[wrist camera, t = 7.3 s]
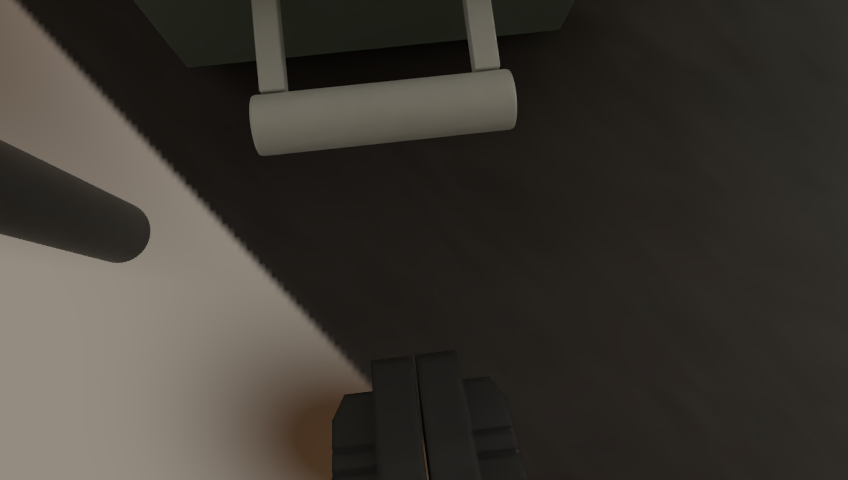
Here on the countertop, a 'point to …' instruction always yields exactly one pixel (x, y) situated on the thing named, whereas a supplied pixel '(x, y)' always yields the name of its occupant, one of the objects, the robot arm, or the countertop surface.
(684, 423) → the countertop surface
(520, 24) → the drawer
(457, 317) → the countertop surface
